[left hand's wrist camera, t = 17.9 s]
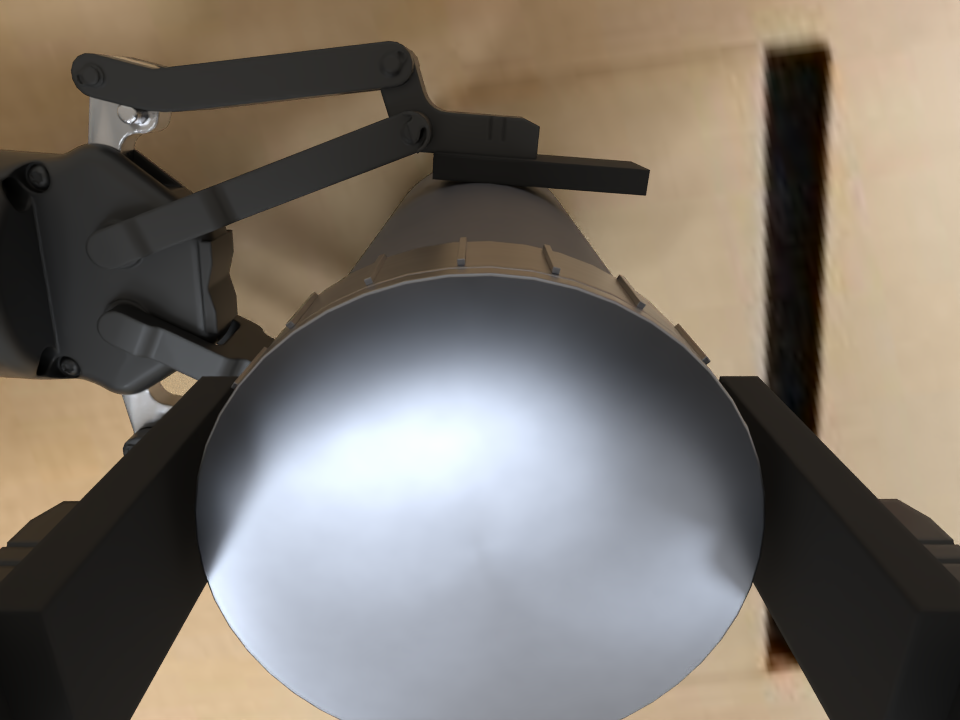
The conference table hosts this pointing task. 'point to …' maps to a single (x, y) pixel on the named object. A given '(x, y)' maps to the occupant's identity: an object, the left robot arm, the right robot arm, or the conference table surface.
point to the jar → (479, 220)
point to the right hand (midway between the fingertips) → (616, 309)
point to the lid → (480, 494)
